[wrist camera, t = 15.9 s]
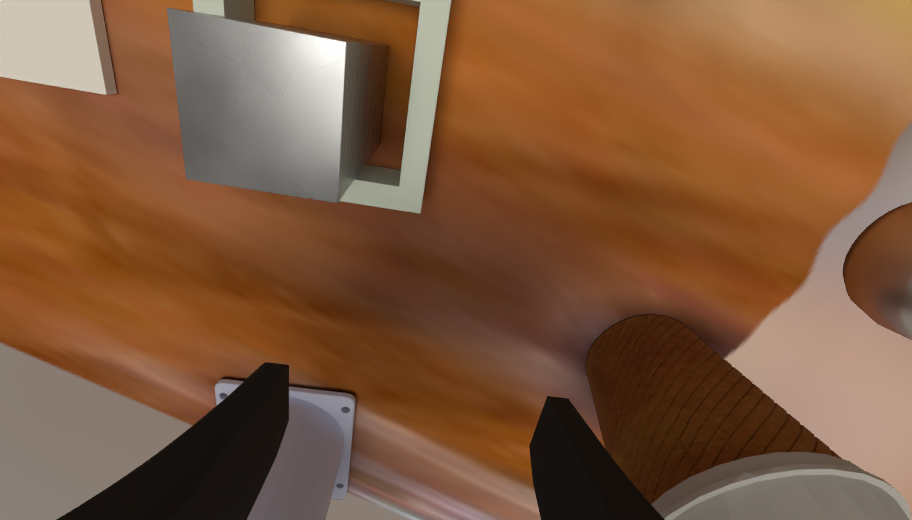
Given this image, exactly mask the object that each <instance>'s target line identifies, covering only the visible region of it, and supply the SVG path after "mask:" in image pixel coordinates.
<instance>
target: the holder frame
mask: <svg viewBox="0 0 912 520" xmlns="http://www.w3.org/2000/svg"><path fill="white" fill-rule="evenodd" d="M385 1H390V2H395V3H400V4H405V5H410V6H415V7H420V13H419V21H418V30H417V38H416V47H415V56H414V64H413V73H412V81H411V90H410V98H409V107H408V116H407V124H406V133H405V141H404V150H403V158H402V167H401V170H397V169H391V168H385V167H379V166H373V165H367V164H365V166H364V167H363V168H362V170H361V171H360V173H359V174H358V175H357V177H356V178H355V180H354V181H353V182H352V184H351V185H350V187H349V188H348V189H347V191H346V192H345V194H344V195H343V196H342V198H341V199H340V200H339V201H343V202H350V203H356V204H362V205H369V206H375V207H382V208H388V209H394V210H401V211H407V212H413V213H421V207H422V201H423V195H424V188H425V181H426V175H427V168H428V161H429V154H430V147H431V140H432V133H433V126H434V119H435V112H436V105H437V98H438V92H439V85H440V78H441V71H442V64H443V57H444V50H445V43H446V36H447V29H448V22H449V15H450V8H451V2H452V0H385ZM193 8H194V12H199V13H206V14H213V15H220V16H226V17H233V18H240V19H247V20H253V21H255V13H254V0H193Z"/></svg>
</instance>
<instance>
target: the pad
mask: <svg viewBox="0 0 912 520" xmlns="http://www.w3.org/2000/svg"><path fill="white" fill-rule="evenodd" d="M0 77H5V78H11V79H17V80H23V81H29V82H35V83H40V84H46V85H52V86H58V87H64V88H70V89H76V90H81V91H87V92H93V93H99V94H105V95H109V94H116V93H117V91H116V85H115V80H114V74H113V68H112V62H111V57H110V51H109V45H108V39H107V33H106V28H105V22H104V16H103V10H102V5H101V0H0Z"/></svg>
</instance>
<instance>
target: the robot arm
mask: <svg viewBox="0 0 912 520" xmlns="http://www.w3.org/2000/svg"><path fill="white" fill-rule="evenodd" d="M224 393H225V394H224ZM226 394H227V395H226ZM215 396H216V405H217V406H216V407H215V408H213V409H212V410H211V411H210V412H209V413H208V414H206V415H205V416H204V417H203V418H202V419H200V420H199V421H198V422H197V423H196V424H194V425H193V426H192V427H191V428H189V429H188V430H187V431H186V432H184V433H183V434H182V435H180V436H179V437H178V438H177V439H175V440H174V441H173V442H172V443H170V444H169V445H168V446H166V447H165V448H164V449H163V450H161V451H160V452H159V453H157V454H156V455H154V456H153V457H152V458H150V459H149V460H148V461H146V462H145V463H143V464H142V465H141V466H139V467H138V468H136V469H135V470H133V471H132V472H131V473H129V474H128V475H126V476H125V477H123V478H122V479H120V480H119V481H118V482H116V483H115V484H113V485H111V486H110V487H108V488H107V489H105V490H103V491H102V492H101V493H99V494H97V495H96V496H94V497H93V498H91V499H89V500H88V501H86V502H85V503H83V504H82V505H80V506H79V507H77V508H75V509H74V510H72V511H71V512H69V513H67V514H65V515H64V516H62V517H60V518H59V519H57V520H325V518H326V515H327V511H328V507H329V504H330V500H331V499H337V500H340V499H344V498H345V497H346V496H347V491H348V480H349V469H350V458H351V447H352V436H353V425H354V414H355V403H356V399H355V397H354V396H353V395H352V394H349V393H341V392H332V391H324V390H315V389H306V388H298V387H289V365H284V364H276V363H267V362H265V363H264V364H262V365H261V366H260V367H259V368H258V369H257V370H256V371H255V372H254V373H253V374H251V375H250V376H249V377H248V378H247V379H246V380H245V381H237V380H229V379H222V380H219V381H218V382H217V384H216V385H215ZM344 407H348V408H344ZM530 457H531V467H532V476H533V484H534V489H535V493H536V498H537V503H538V507H539V512H540V516H541V520H665V519H664V518H663V517H662V516H661V515H660V514H659V513H658V512H657V511H656V509H655V508H654V507H653V506H652V505H651V504H650V503H649V502H648V501H647V499H646V498H645V497H644V496H643V495H642V494H641V492H640V491H639V490H638V489H637V488H636V487H635V485H634V484H633V483H632V482H631V481H630V480H629V478H628V477H627V476H626V475H625V473H624V472H623V471H622V470H621V468H620V467H619V466H618V465H617V463H616V462H615V461H614V460H613V458H612V457H611V456H610V454H609V453H608V452H607V451H606V449H605V448H604V447H603V445H602V444H601V443H600V441H599V440H598V439H597V437H596V436H595V435H594V433H593V432H592V431H591V429H590V428H589V426H588V425H587V424H586V422H585V421H584V420H583V418H582V417H581V415H580V414H579V413H578V411H577V410H576V409H575V407H574V406H573V405H572V403H571V402H570V401H569V399H567V398H558V397H550V396H547V399H546V402H545V404H544V407H543V410H542V413H541V415H540V418H539V421H538V424H537V427H536V429H535V432H534V435H533V438H532V440H531V443H530Z"/></svg>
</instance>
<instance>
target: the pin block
mask: <svg viewBox="0 0 912 520" xmlns="http://www.w3.org/2000/svg"><path fill="white" fill-rule="evenodd" d="M167 13H168V22H169V30H170V39H171V48H172V57H173V66H174V75H175V83H176V92H177V101H178V110H179V119H180V128H181V136H182V145H183V154H184V163H185V172H186V179H189V180H195V181H201V182H208V183H214V184H220V185H227V186H233V187H239V188H246V189H252V190H258V191H265V192H271V193H277V194H284V195H290V196H296V197H303V198H309V199H315V200H322V201H328V202H334V203H338V202H339V200H340V199H341V198H342V196H343V195H344V194H345V192H346V191H347V189H348V188H349V187H350V185H351V184H352V182H353V181H354V180H355V178H356V177H357V175H358V174H359V173H360V171H361V170H362V168H363V167H364V166H365V164H366V163H367V162H368V160H369V159H370V157H371V156H372V155H373V153H374V152H375V150H376V149H377V148H378V146H379V145H380V137H381V126H382V116H383V105H384V94H385V83H386V73H387V62H388V51H389V45H385V44H380V43H375V42H370V41H365V40H359V39H354V38H349V37H344V36H339V35H334V34H329V33H323V32H318V31H313V30H308V29H303V28H298V27H293V26H287V25H280V24H274V23H267V22H260V21H253V20H247V19H240V18H233V17H226V16H220V15H213V14H206V13H199V12H193V11H186V10H179V9H172V8H167Z"/></svg>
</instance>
